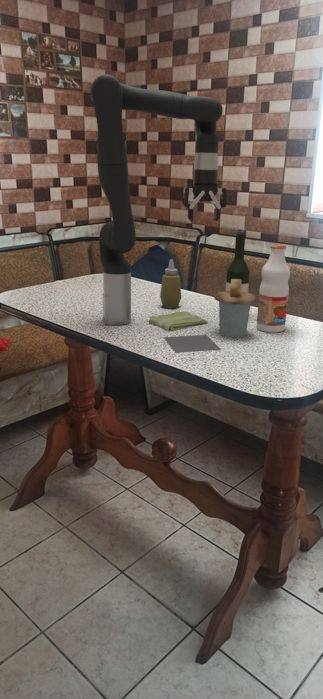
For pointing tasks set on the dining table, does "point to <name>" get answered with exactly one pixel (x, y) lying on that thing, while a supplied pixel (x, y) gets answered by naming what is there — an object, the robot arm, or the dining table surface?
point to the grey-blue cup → (233, 319)
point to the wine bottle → (238, 265)
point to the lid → (235, 294)
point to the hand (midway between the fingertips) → (203, 220)
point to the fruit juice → (274, 291)
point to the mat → (191, 343)
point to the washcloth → (177, 321)
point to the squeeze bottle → (170, 287)
